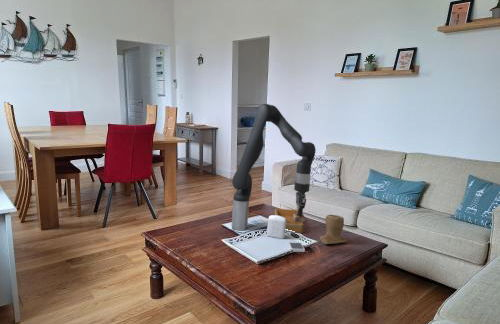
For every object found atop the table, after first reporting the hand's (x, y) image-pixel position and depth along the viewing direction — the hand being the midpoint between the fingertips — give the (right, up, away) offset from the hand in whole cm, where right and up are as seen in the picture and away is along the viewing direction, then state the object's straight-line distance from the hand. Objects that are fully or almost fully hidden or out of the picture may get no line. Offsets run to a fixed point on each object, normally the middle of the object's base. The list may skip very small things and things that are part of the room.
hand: (299, 214), depth 177 cm
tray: (-1, -13, +41) cm, 43 cm away
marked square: (+7, -19, +4) cm, 20 cm away
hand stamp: (0, -3, +1) cm, 3 cm away
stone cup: (+20, -18, +16) cm, 32 cm away
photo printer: (-11, -16, +18) cm, 26 cm away
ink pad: (-1, -18, +3) cm, 19 cm away
